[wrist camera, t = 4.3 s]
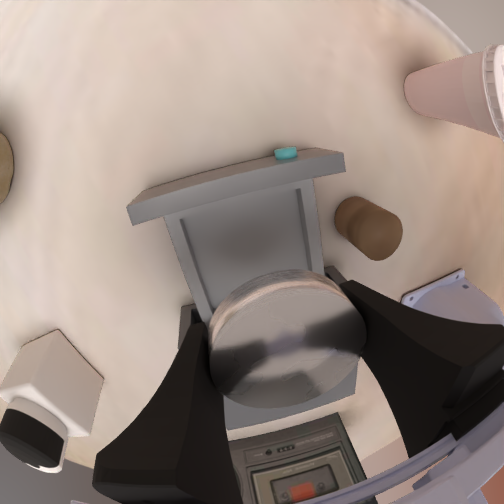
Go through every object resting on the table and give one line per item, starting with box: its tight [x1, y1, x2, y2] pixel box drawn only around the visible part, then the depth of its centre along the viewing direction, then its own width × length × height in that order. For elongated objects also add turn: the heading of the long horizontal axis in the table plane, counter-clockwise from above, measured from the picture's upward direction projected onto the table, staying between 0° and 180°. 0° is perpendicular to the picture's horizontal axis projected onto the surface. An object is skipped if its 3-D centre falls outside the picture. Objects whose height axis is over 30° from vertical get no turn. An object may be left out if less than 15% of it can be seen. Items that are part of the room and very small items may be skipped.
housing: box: [178, 266, 358, 430], centre depth 21 cm, size 12×12×4 cm
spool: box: [335, 196, 403, 261], centre depth 18 cm, size 3×3×4 cm
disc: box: [208, 269, 367, 409], centre depth 10 cm, size 6×6×2 cm
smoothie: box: [404, 44, 504, 142], centre depth 10 cm, size 6×6×14 cm
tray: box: [126, 147, 346, 330], centre depth 17 cm, size 12×11×4 cm
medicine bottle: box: [0, 330, 104, 473], centre depth 16 cm, size 7×7×12 cm
